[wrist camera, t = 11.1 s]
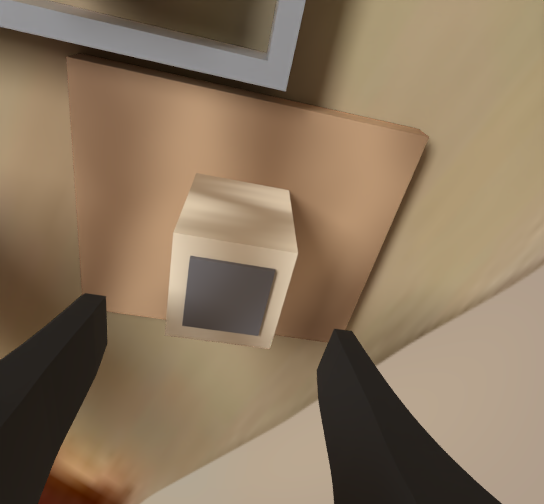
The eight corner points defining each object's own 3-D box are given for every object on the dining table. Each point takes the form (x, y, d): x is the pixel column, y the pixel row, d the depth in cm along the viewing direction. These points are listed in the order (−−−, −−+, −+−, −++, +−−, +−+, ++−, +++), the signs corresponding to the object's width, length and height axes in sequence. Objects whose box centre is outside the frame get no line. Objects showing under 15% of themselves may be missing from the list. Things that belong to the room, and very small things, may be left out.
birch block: (186, 260, 18) (163, 338, 14) (196, 172, 16) (172, 235, 12) (268, 272, 19) (269, 351, 15) (288, 190, 17) (298, 255, 12)
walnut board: (91, 293, 21) (82, 308, 20) (79, 53, 15) (66, 56, 14) (335, 328, 23) (339, 343, 22) (419, 129, 16) (429, 137, 16)
